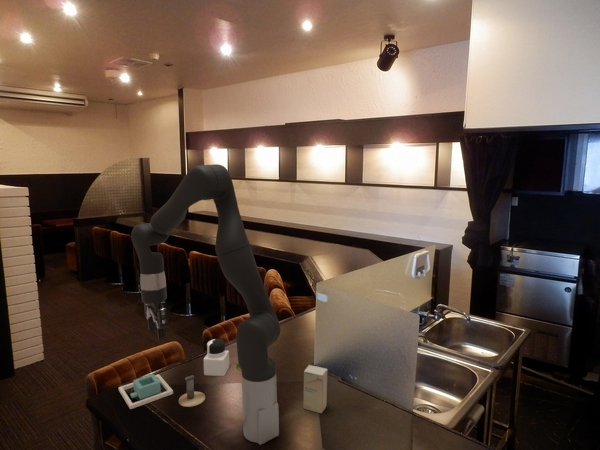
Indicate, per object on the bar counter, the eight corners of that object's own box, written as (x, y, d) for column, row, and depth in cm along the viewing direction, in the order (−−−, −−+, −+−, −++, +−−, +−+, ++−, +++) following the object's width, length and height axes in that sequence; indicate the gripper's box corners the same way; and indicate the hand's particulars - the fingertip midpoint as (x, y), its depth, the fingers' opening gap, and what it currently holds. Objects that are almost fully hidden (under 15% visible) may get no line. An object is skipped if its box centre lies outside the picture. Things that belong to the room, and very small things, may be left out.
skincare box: (302, 409, 118) (302, 371, 117) (308, 401, 123) (308, 364, 121) (322, 414, 116) (322, 375, 114) (327, 405, 120) (327, 368, 118)
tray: (173, 397, 125) (173, 390, 125) (130, 412, 117) (129, 406, 117) (159, 380, 135) (158, 374, 135) (118, 393, 127) (118, 387, 127)
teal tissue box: (134, 403, 121) (133, 391, 120) (128, 394, 126) (127, 382, 125) (160, 393, 126) (160, 382, 125) (154, 385, 131) (153, 373, 130)
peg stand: (209, 403, 122) (208, 379, 120) (184, 413, 117) (183, 388, 116) (198, 392, 128) (197, 368, 127) (174, 401, 123) (173, 377, 122)
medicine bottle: (229, 368, 143) (228, 337, 141) (224, 379, 136) (222, 346, 134) (210, 367, 143) (209, 336, 142) (203, 378, 136) (202, 345, 135)
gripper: (134, 283, 128) (137, 331, 130) (149, 293, 117) (153, 345, 119) (157, 279, 132) (160, 325, 135) (173, 288, 121) (177, 338, 124)
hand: (157, 334), depth 127 cm, fingers open, 8 cm apart
